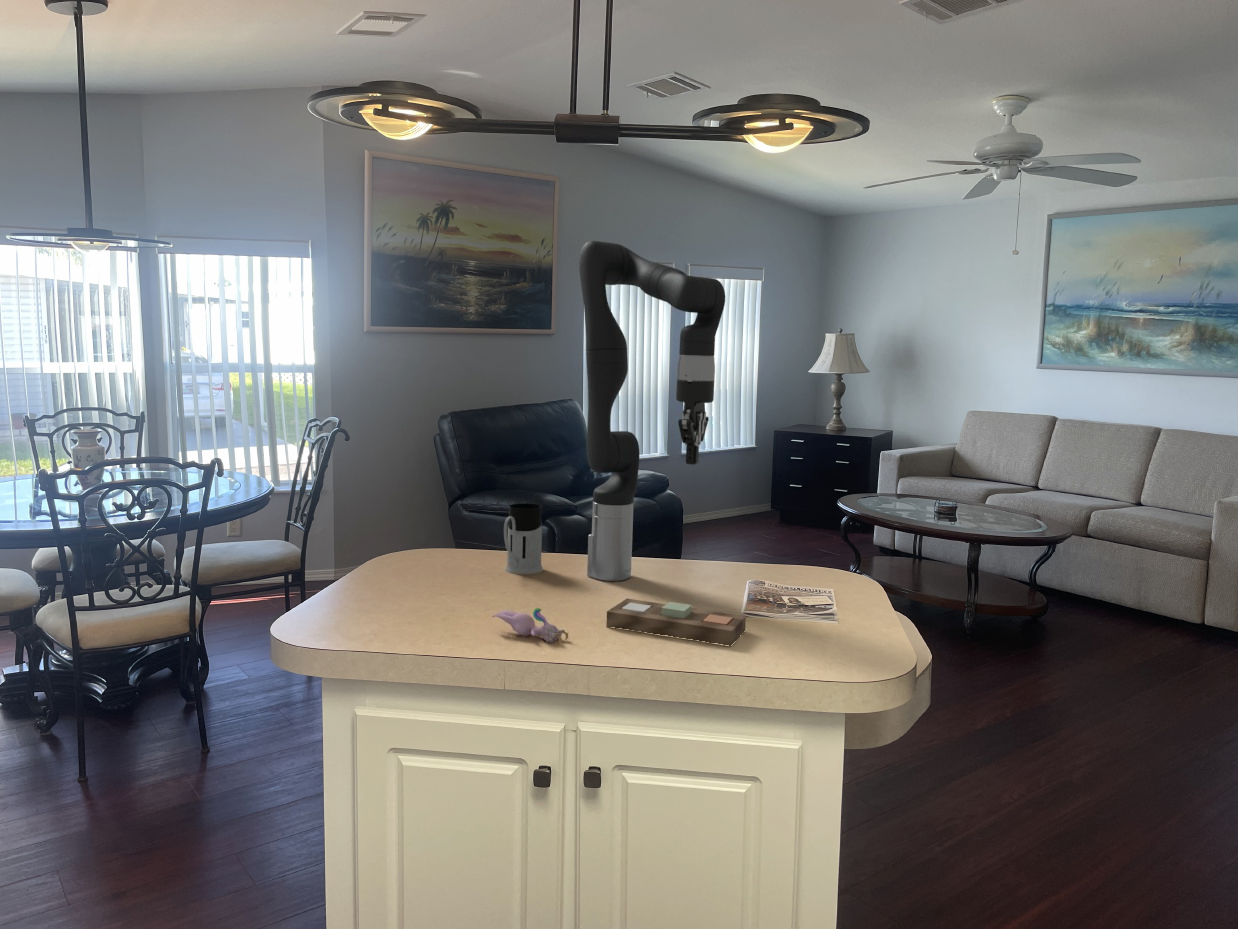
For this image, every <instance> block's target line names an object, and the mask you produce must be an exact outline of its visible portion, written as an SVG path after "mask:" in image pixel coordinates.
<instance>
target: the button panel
mask: <svg viewBox="0 0 1238 929" xmlns="http://www.w3.org/2000/svg"><path fill="white" fill-rule="evenodd" d="M629 603H637V604H643V605H650V606H651V608H650V609H649V610H648V611H646V612H645V613H641V612H635V611H628V610H622V608H623V607H624V606H626V605H627V604H629ZM666 604H667V603H660V602H654V601H653V602H652V601H646V600H640V599H633V598H625V599H624V600H622V601H621V602H619V603H618V604H616V605H614V606H613V607H611V608H610V609H608V610H607V611H606V622H605V623H606V624H605V626H606V628H609V627H615V628H614V629H616V628H622V629H629V630H634V631H641V632H647V633H653V634H660V635H668V636H673V637H679V638H686V639H693V640H699V641H705V642H709V643H718V644H723V645H729V646H731V645H732V644H733V643H734V642H735V641H736V640H737V639H738V638H739V637H740V635H742V636H743V634H744V633H745V632H746V626H747V625H746V624H747V623H746V621H747V616H746V615H742V614H737V613H736V614H735V613H729V612H722V611H714V610H707V609H701V608H693V607H692V610H691V615H689V616H688V617H687V618H686V619H681V618H674V617H667V616H661V613H662V607H663V606H665V605H666ZM710 614H711V615H718V616H725V617H732V618H733V621H732V622H731V623H730V624H728V625H720V624H713V623H707V622H703V620H704V619H705V618H706V617H707V616H708V615H710ZM622 629H621V630H622ZM634 631H633V632H634ZM744 631H745V632H744ZM743 632H744V633H743ZM647 633H646V634H647ZM742 633H743V634H742ZM653 634H652V635H653ZM740 638H741V637H740ZM740 638H739V639H740ZM739 639H738V640H739ZM738 640H737V641H738ZM737 641H736V642H737ZM736 642H735V643H736ZM709 643H708V644H709ZM735 643H734V644H735ZM734 644H733V645H734ZM733 645H732V646H733ZM732 646H731V647H732Z"/></svg>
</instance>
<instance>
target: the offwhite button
mask: <svg viewBox="0 0 1238 929" xmlns="http://www.w3.org/2000/svg"><path fill="white" fill-rule="evenodd" d="M650 608H651V606H650V605H643V604H637V603H629V604H627V605H626V606H624V607H623V608H622V610H628V611H635V612H641V613H645V612H646V611H648V610H649V609H650Z"/></svg>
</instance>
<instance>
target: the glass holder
mask: <svg viewBox="0 0 1238 929" xmlns="http://www.w3.org/2000/svg"><path fill="white" fill-rule="evenodd" d="M542 506H543V505H541V504H538V503H527V502H526V503H525V502H524V503H523V502H520V503H513V504H509V506H508V516H507V518H505V520H504V523H503V539H504V540H503V541H504V544H505V545H504V546H505V548H506V551H507V553H506V555H507V558H506V559H507V560H506V561H507V562H506V566H505V569H504V570H505V572H507V573H510V574H514V573H515V575H516V574H517V575H534V574H535V575H536V574H539V573H541V572H543V570H544V568H543V566H542V543H543V542H542V540H543V539H542V538H543V537H542V536H543V525H542V524H543V523H542V509H543V508H542Z"/></svg>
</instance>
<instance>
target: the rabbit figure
mask: <svg viewBox="0 0 1238 929" xmlns="http://www.w3.org/2000/svg"><path fill="white" fill-rule="evenodd" d="M541 612H542V609H541V607H540V608H539V607H536V608H535V609H534V610H533V611H532V614H533V617H532V616H531V615H530V614H528V613H526V612H519V613H518V612H516V611H514V610H509V609H508V610H502V611H499V612H496V613H495V614H491V617H493V618H494V617H495V618H496V617H497V618H499V619H501V620H502V621H503V622H505V623H507V624H508V625H510V627H511V628H512V630H513V631H514V632H516V633H517V634H518V635H520V636H523V637H527V636H529V635H530V636H533V637H535V636H536V637H539V638H540V637H541V638H542V639H543V640H544V641H545V642H547V643H548V644H549V643H550V644H552V643H554V642H555V641H557V640H558V645H559V646H560V645H561V644H560V643H562V634H564V635H565V641H566V642H567V641H568V640H569V631H567V632H566V631H565V630H564V629H560V628H558V627H556V625H554V624H552V623H549V622H548V621H547V619H546V617H545V616H544V615H543V614H542V613H541ZM535 620H536V621H539V622H542V623H543V625H536V624H535Z"/></svg>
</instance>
